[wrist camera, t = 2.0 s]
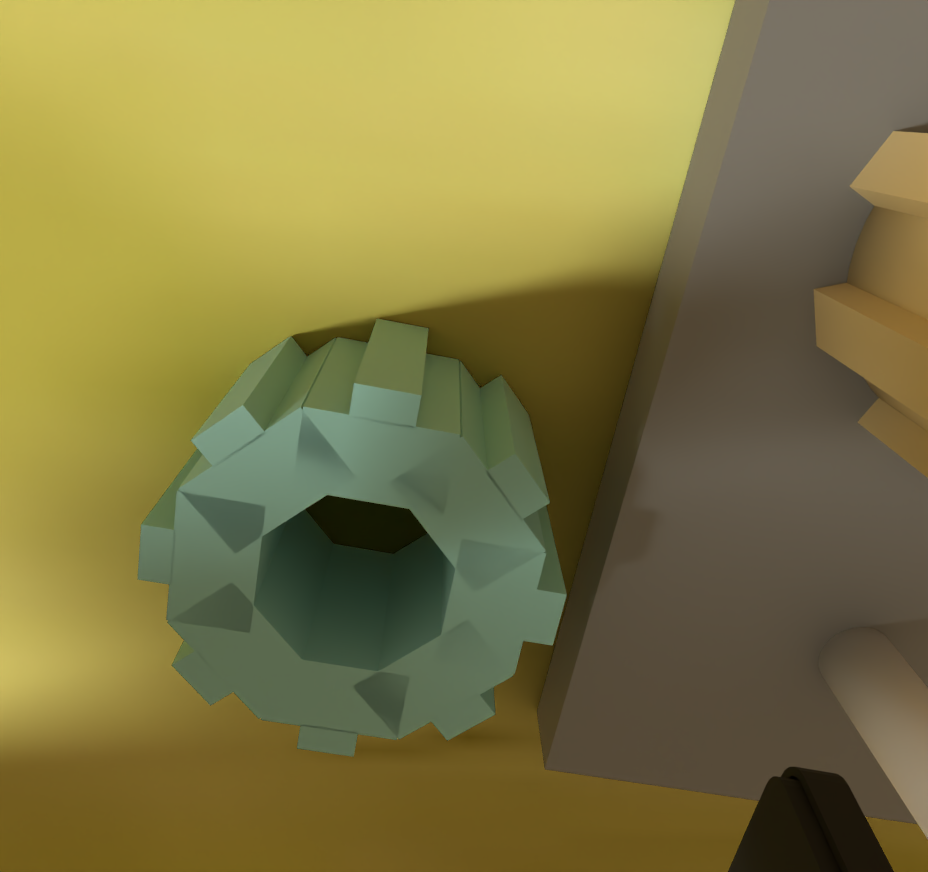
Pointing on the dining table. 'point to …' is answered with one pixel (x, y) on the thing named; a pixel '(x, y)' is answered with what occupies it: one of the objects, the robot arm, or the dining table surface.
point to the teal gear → (349, 568)
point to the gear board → (773, 441)
